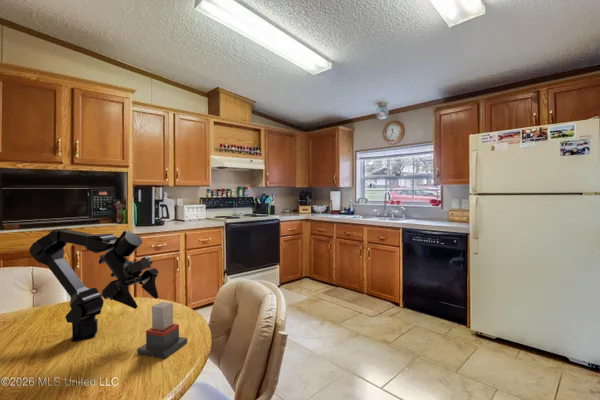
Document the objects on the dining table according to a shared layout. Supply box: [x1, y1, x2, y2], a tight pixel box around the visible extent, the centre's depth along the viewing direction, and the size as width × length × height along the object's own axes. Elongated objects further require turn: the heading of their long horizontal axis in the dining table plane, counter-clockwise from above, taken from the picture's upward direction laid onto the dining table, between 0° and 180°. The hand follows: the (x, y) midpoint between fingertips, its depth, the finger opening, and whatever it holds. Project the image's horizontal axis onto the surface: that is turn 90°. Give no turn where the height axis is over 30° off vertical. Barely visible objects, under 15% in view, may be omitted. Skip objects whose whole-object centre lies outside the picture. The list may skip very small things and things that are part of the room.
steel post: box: [151, 301, 174, 332], centre depth 94 cm, size 4×4×12 cm
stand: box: [136, 323, 188, 359], centre depth 94 cm, size 10×10×6 cm
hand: (147, 302), depth 97 cm, fingers open, 9 cm apart
